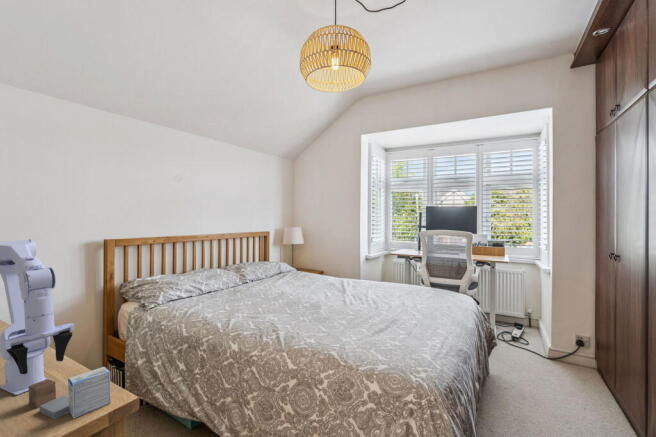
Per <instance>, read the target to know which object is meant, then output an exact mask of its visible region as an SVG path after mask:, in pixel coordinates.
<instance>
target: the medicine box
mask: <svg viewBox="0 0 656 437" xmlns="http://www.w3.org/2000/svg"><path fill="white" fill-rule="evenodd" d="M67 384H68V385H67V386H68V387H67V389H68V398H69V411H70V412H69V413H70V414H71V416H72V418H73V419H77V418H79V417H81V416H84V415H85V414H88V413H91V412H93V411H95V410H98V409H99V408H102V407H104V406H105V407H106V406H107V405H110V404H111V403H112V396H111V394H112V393H111V391H112V390H111V371H109V369H108V368H107V367H105V366H102V367H99V368H95V369H92V370H90V371H87V372H83V373H80V374H78V375H75V376H72V377H69V378H68V379H67Z"/></svg>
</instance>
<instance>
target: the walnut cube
mask: <svg viewBox="0 0 656 437" xmlns="http://www.w3.org/2000/svg"><path fill="white" fill-rule="evenodd" d="M49 379H50V378H48V379H45V380H43V381H40V382H38V383H35V384H33V385H30V386H29V390H28V405H29V406H31V407H33V408H35V409H40V405H43V404H45V403H47V402H49V401H52V400H54V399H56V398H57V395H56V394H57V393H56V390H57V389H56V381H55V380H52V379H50V380H49Z"/></svg>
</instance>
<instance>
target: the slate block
mask: <svg viewBox="0 0 656 437" xmlns="http://www.w3.org/2000/svg"><path fill="white" fill-rule="evenodd" d="M39 413H41V414H43V415H45V416H46V417H49V418H51V419H53V420H57V419H59V418H60V417H62V416H64V415H66V414H68V413H70V411H69V396H67V395H66V396H65V395H61V396H58V397H56V399H54V400H52V401H49V402H47V403H45V404H43V405H40V408H39Z"/></svg>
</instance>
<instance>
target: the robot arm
mask: <svg viewBox="0 0 656 437" xmlns="http://www.w3.org/2000/svg"><path fill="white" fill-rule="evenodd" d="M36 256H37V245H36V242H35V241H34V240H33V239H31V238H30V239H22V240H8V241H7V240H5V241H0V276H1V279H2V281H3V285H4V290H5V295H6V301H7V306H8V307H7V308H8V312H9V318H10V325H9V326H8V327H6V328H5V329H4V330H3V331H2V332H1V334H0V355H1V358H2V359H3V360H5V363H4V385H2V386H1V385H0V389H2V390H4V391H5V392H8V393H10V394H12V395H15V396H18V395H20V394H23V393H25V392H29V386H30V385H33V384H35V383H38V382H40V381H43V380H45V379H49V380H51V378H48V377H45V373H44V372H45V371H44V353H46V349H48V348H49V346H50V345H51V337H52V338H53V343H54V347H55V348H54V350H55V361H56V362H63V361H64V358H65V353H66V350H67V347H68V344H69V342H70V340H71V339H72V337H73V331H75V323H74V322H73V323H72V322H68V323H65V324H61V325H55V310H54V294H53V292H54V291H53V289H55V287H56V280H57V279H56V273H55V270H54V268H53V267H50V266H49V267H46V266H45V265H44V264H43V262H42V261H41V260H40V259H39V258H38V257H36Z"/></svg>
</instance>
